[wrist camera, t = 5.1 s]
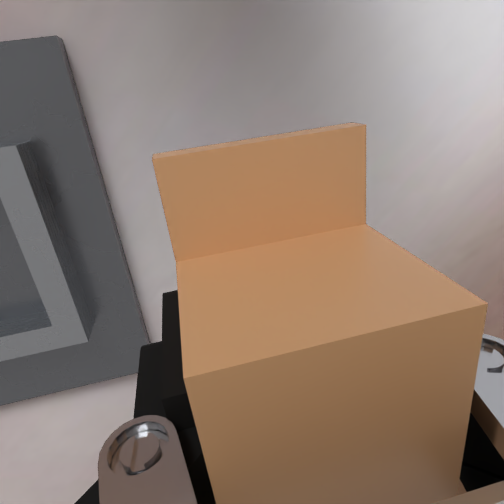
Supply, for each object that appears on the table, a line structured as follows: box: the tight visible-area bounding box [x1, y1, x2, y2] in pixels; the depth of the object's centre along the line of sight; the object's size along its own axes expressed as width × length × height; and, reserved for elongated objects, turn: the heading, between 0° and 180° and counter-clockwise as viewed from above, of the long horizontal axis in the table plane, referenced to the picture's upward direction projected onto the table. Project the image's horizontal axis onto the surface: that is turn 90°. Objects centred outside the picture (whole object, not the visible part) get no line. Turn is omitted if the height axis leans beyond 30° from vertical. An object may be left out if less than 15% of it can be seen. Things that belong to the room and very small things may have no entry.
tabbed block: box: [152, 123, 488, 504], centre depth 9 cm, size 10×4×6 cm, turn 7°
